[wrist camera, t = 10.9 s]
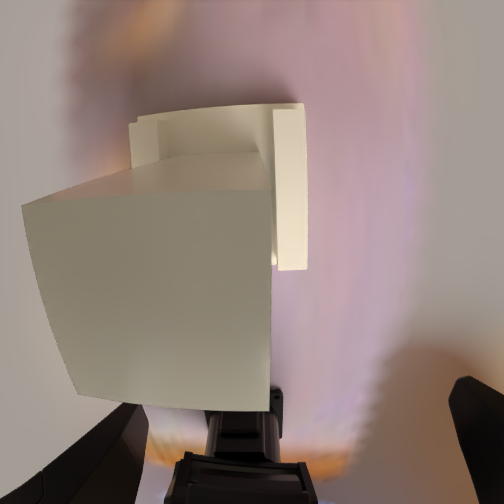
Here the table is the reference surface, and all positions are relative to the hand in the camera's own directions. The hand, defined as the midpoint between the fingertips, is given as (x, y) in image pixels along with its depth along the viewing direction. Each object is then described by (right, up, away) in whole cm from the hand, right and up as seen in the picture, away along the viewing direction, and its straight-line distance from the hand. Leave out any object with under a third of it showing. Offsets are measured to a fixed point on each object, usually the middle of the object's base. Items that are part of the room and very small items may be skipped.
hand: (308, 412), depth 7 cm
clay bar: (-3, +8, +10) cm, 13 cm away
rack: (-3, +8, +11) cm, 14 cm away
